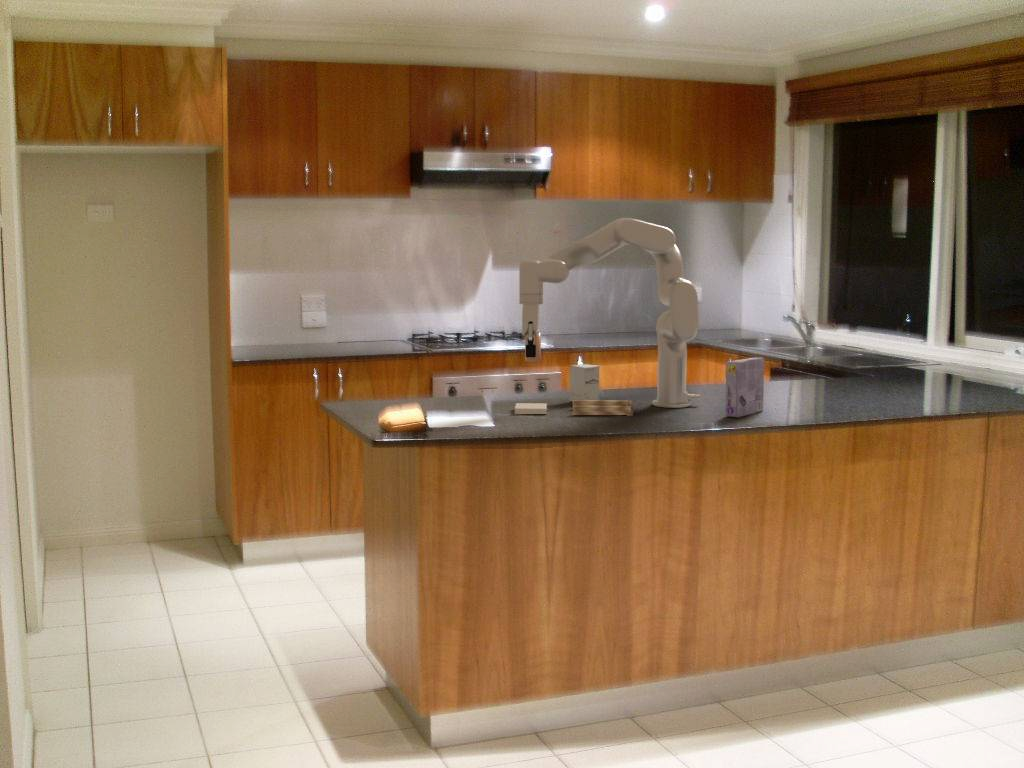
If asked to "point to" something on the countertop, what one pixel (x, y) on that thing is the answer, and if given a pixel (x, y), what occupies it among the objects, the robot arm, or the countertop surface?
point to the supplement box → (584, 382)
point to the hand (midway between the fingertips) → (531, 355)
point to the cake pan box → (744, 387)
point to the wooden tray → (602, 407)
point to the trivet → (530, 408)
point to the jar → (538, 349)
